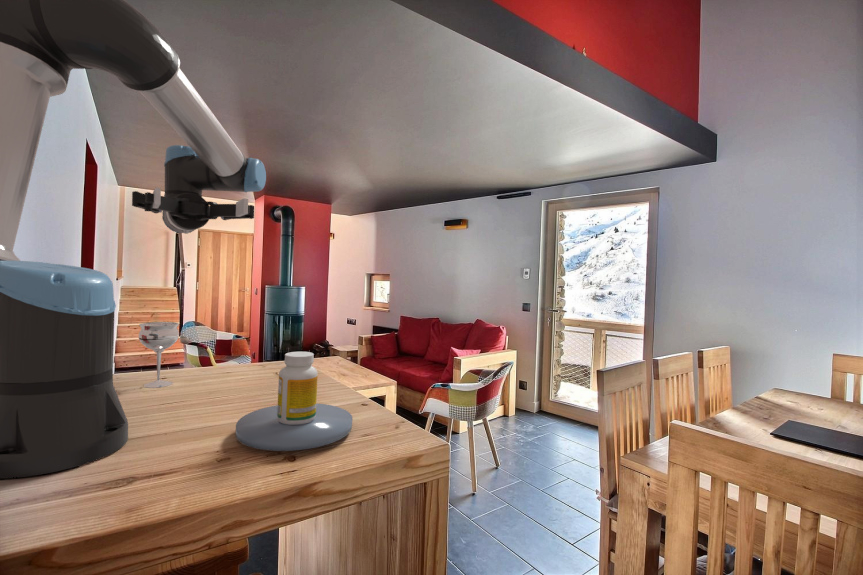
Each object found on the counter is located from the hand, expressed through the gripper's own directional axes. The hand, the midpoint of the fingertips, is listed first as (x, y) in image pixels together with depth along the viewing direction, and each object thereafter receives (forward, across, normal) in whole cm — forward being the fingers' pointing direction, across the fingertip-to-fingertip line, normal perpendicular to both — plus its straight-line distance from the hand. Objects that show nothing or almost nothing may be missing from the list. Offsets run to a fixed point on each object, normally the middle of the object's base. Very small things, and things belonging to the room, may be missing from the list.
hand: (204, 201), depth 74 cm
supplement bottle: (+23, -9, -33) cm, 42 cm away
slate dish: (+23, -9, -35) cm, 43 cm away
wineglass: (-15, +5, -35) cm, 39 cm away
